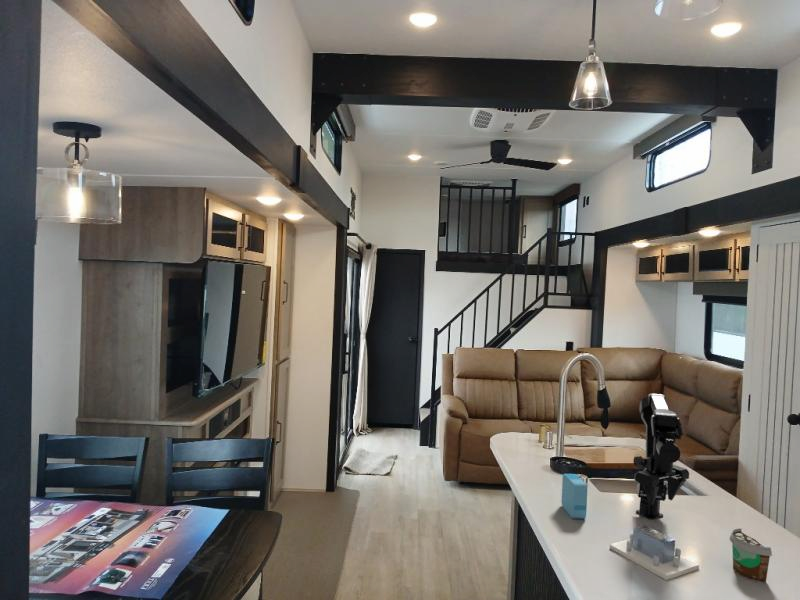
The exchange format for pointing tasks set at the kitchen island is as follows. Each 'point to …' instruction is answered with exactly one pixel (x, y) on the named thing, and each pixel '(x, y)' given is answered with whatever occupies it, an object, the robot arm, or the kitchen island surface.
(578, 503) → the light blue box
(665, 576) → the cream pegged board
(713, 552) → the kitchen island surface
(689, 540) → the kitchen island surface
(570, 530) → the kitchen island surface
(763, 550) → the food container
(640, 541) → the block
